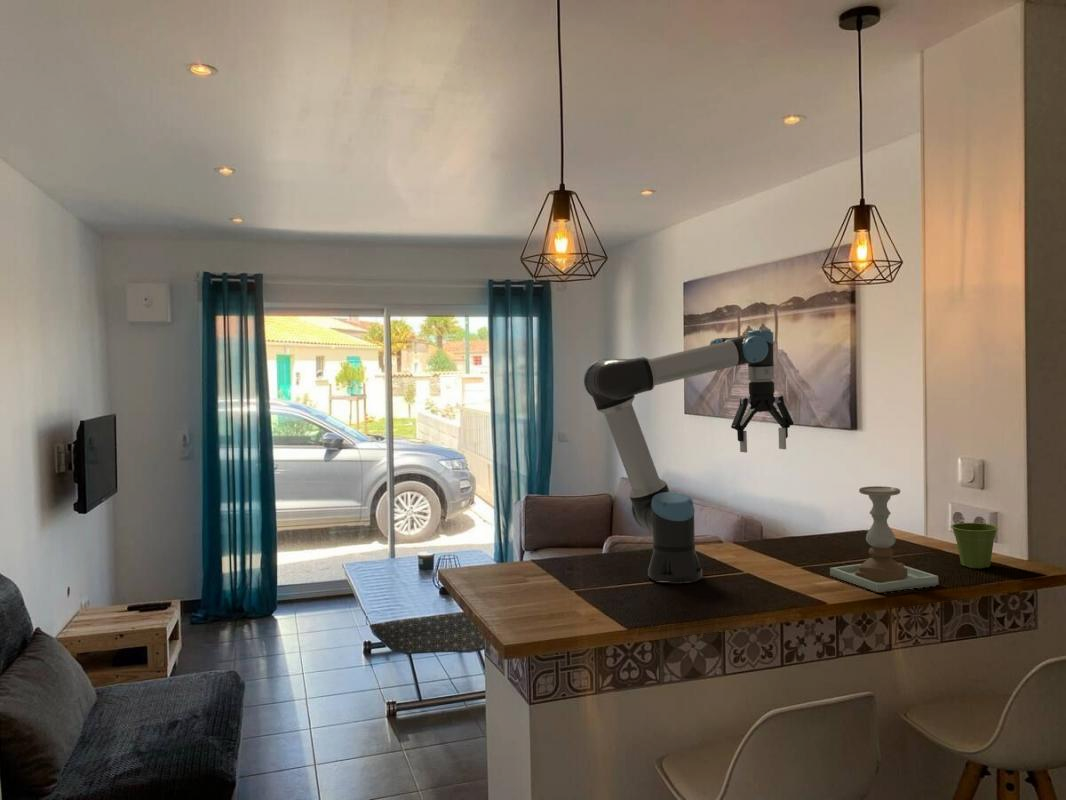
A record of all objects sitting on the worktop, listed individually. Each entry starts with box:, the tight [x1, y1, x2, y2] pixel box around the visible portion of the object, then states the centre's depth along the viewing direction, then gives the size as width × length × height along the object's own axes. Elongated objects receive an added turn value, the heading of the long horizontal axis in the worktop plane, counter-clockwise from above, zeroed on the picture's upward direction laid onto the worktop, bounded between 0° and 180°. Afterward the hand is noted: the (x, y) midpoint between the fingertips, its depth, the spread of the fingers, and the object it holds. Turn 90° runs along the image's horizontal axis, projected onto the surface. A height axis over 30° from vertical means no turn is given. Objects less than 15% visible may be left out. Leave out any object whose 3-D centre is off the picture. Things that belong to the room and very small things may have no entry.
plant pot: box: [950, 522, 999, 570], centre depth 234 cm, size 12×12×11 cm
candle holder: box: [855, 485, 908, 583], centre depth 223 cm, size 11×11×24 cm
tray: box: [829, 563, 939, 592], centre depth 223 cm, size 19×19×2 cm
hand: (763, 450), depth 253 cm, fingers open, 13 cm apart
